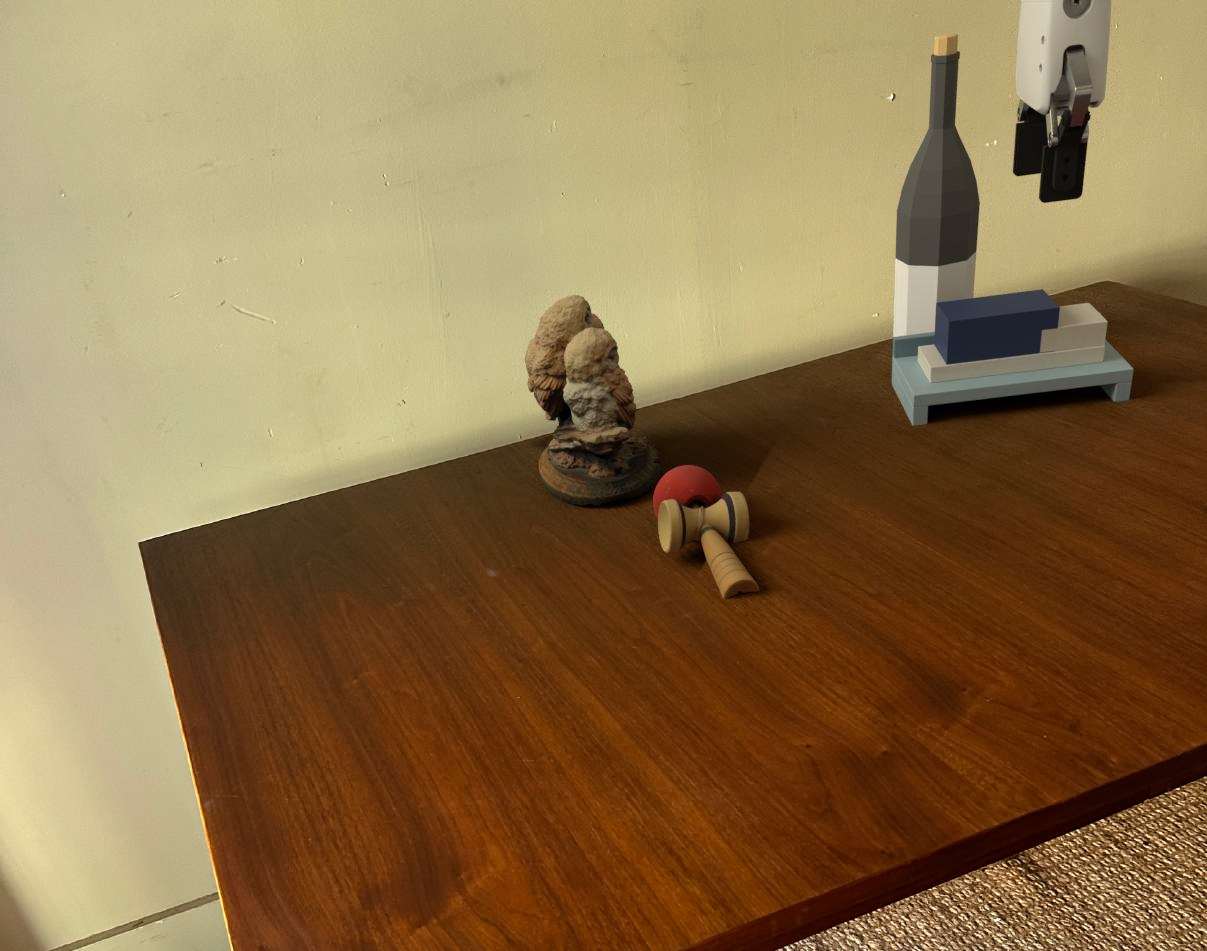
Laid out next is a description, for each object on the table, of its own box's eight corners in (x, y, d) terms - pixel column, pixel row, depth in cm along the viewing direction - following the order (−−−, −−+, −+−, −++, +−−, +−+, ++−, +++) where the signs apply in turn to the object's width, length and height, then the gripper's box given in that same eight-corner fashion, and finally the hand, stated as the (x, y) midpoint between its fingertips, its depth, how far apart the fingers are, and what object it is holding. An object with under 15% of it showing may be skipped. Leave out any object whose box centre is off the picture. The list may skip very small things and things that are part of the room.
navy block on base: (1083, 340, 116) (1090, 281, 113) (1103, 362, 112) (1111, 301, 108) (917, 361, 118) (919, 303, 114) (929, 383, 113) (932, 323, 110)
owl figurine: (685, 496, 111) (668, 307, 100) (563, 524, 110) (533, 336, 99) (634, 429, 125) (614, 257, 114) (525, 453, 124) (495, 281, 113)
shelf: (1090, 374, 121) (1099, 310, 117) (1126, 416, 113) (1137, 348, 109) (891, 398, 123) (892, 336, 119) (911, 441, 114) (914, 375, 110)
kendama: (797, 610, 95) (726, 494, 108) (785, 549, 91) (712, 434, 103) (707, 646, 96) (646, 525, 108) (690, 586, 91) (628, 467, 103)
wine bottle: (934, 378, 125) (951, 44, 107) (876, 362, 131) (883, 42, 112) (985, 354, 129) (1010, 27, 110) (927, 340, 134) (942, 25, 115)
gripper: (1157, -71, 81) (1122, 204, 91) (1089, -83, 94) (1066, 158, 105) (1042, -53, 82) (1021, 217, 92) (991, -67, 95) (978, 170, 106)
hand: (1045, 186), depth 98 cm, fingers open, 9 cm apart
